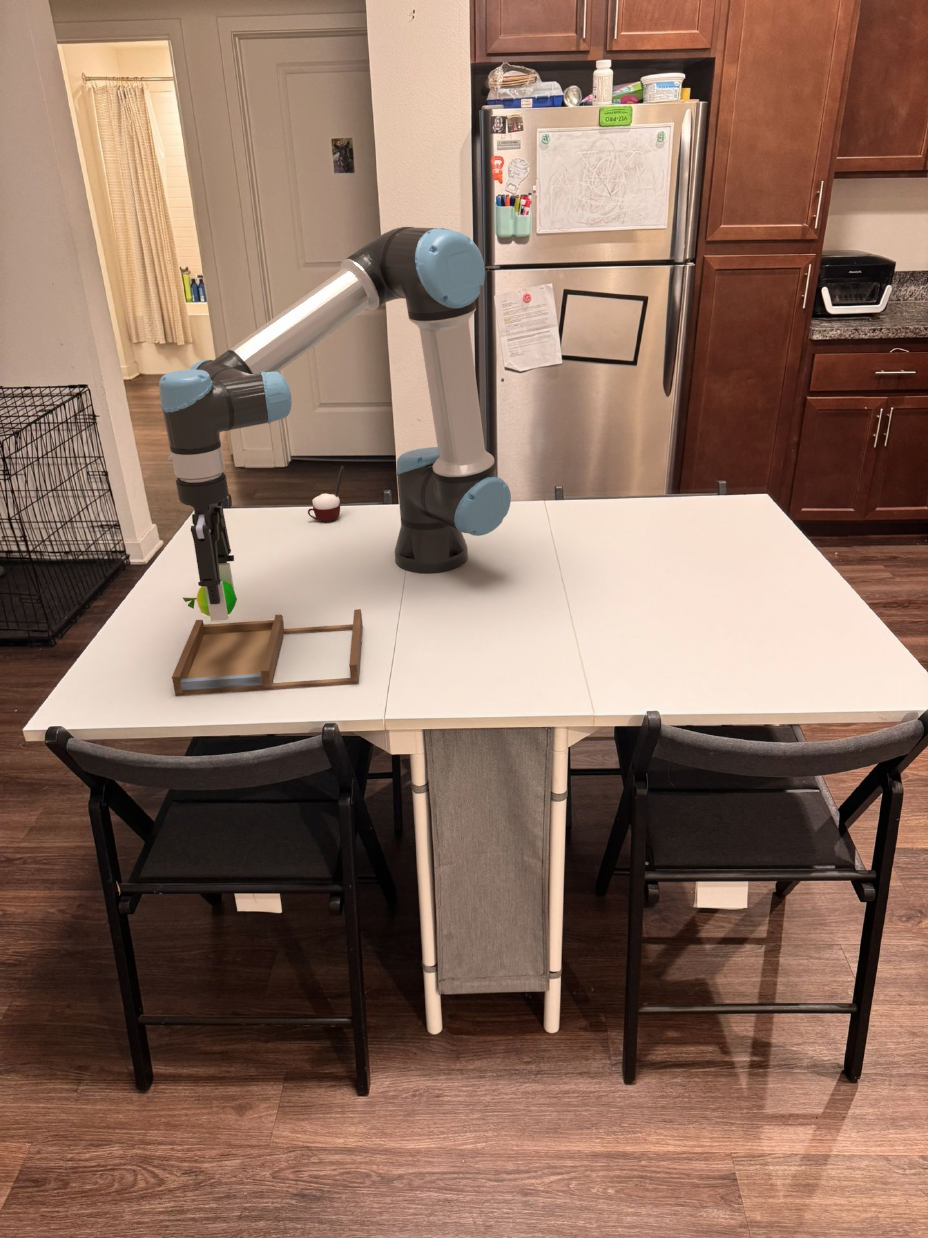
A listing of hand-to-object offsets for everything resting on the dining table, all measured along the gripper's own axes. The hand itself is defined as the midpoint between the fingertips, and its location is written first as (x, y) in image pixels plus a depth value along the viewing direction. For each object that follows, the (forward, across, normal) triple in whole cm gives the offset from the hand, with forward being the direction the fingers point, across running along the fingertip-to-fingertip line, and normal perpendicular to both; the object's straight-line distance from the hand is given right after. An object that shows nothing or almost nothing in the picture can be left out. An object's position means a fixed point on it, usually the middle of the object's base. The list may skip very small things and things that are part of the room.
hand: (223, 609), depth 152 cm
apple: (+1, 0, -2) cm, 2 cm away
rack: (+10, 0, +7) cm, 12 cm away
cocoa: (+10, -66, +12) cm, 68 cm away
